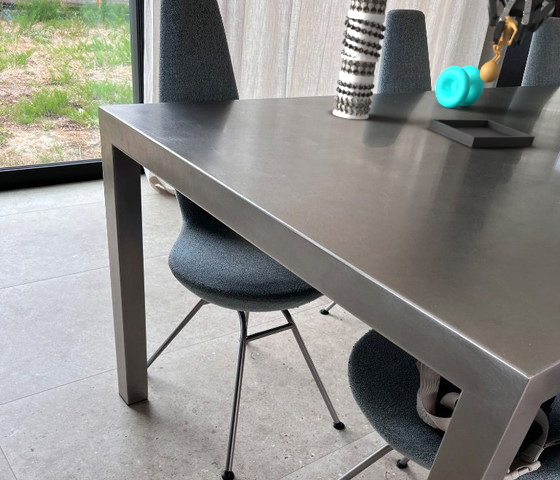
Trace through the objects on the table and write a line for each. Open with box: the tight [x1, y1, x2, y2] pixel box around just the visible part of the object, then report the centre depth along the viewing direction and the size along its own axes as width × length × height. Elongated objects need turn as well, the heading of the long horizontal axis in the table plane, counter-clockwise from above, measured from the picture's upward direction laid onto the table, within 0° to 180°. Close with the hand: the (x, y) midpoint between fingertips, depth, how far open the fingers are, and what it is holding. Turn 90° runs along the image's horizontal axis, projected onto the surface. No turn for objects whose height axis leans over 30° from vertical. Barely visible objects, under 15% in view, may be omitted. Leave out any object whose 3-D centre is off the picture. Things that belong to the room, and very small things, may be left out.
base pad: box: [427, 118, 536, 149], centre depth 126 cm, size 17×15×2 cm
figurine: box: [479, 16, 519, 84], centre depth 118 cm, size 8×6×12 cm
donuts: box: [434, 65, 485, 109], centre depth 153 cm, size 10×10×10 cm
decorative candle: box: [332, 0, 388, 120], centre depth 125 cm, size 9×9×25 cm
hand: (505, 43), depth 115 cm, fingers closed on figurine, 3 cm apart
